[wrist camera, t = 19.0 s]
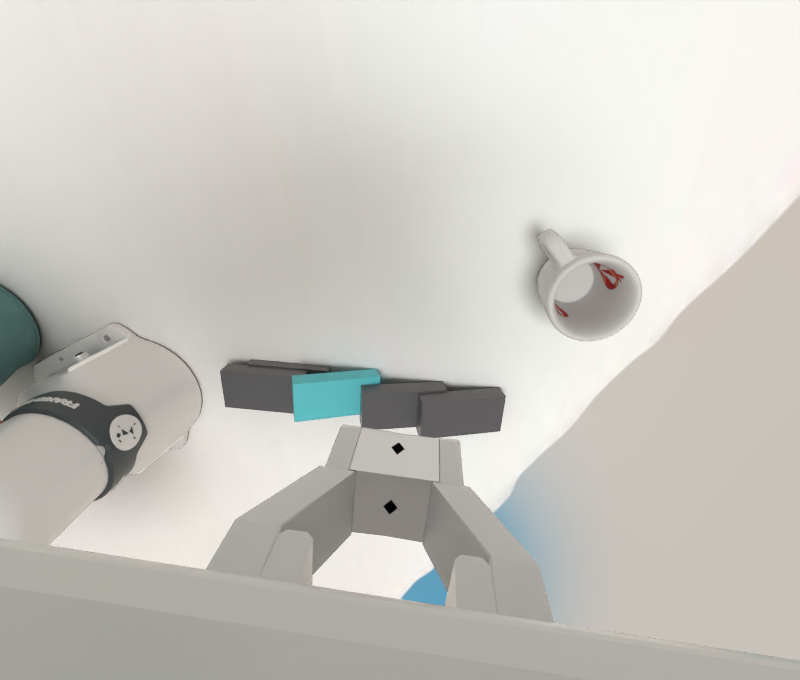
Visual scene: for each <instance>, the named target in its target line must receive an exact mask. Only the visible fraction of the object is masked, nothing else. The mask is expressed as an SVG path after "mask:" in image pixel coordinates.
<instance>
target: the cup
mask: <svg viewBox="0 0 800 680" xmlns="http://www.w3.org/2000/svg"><path fill="white" fill-rule="evenodd" d="M538 241H539V243H540V245H541V246H542V248H543V250H544V251H545V253H546V254H547V256H548V257H549V260H548V261H547V262H546V263H545V264H544V266H543V267H542V269H541V271H540V274H539V277H538V293H539V296H540V299H541V301H542V303H543V305H544V308H545V310H546V312H547V315H548V317H549V319H550V321H551V323H552V324H553V326H554V327H555V328H556V329H557V330H558V331H559V332H560V333H562V334H563V335H565V336H567V337H569V338H571V339H574V340H579V341H596V340H601V339H604V338H607V337H609V336H612V335H614V334H615V333H617V332H619V331H620V330H621V329H623V328H624V327H625V326H626V325H627V324H628V323H629V322H630V321H631V320H632V318H633V317H634V315H635V314H636V312H637V310H638V308H639V305H640V302H641V297H642V286H641V281H640V278H639V276H638V274H637V272H636V271H635V269H634V268H633V267H632V266H631V265H630V264H629V263H627V262H626V261H624V260H623V259H621V258H618V257H616V256H612V255H608V254H603V253H598V252H593V251H589V250H583V249H569V248H568V246H567V245H566V243H565V242H564V240H563V239H562V238H561V237H560V236H559V235H558V234H557V233H556V232H555V231H553V230H550V229H549V230H546V231H544V232H543V233H541V234H540V235H539V237H538Z"/></svg>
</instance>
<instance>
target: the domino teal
mask: <svg viewBox="0 0 800 680" xmlns="http://www.w3.org/2000/svg"><path fill="white" fill-rule="evenodd" d="M374 384H380V375H379V373H378V371H377V369H367V370H355V371H343V372H331V373H318V374H306V375H294V376H292V390H293V411H294V421H295V422H298V421H307V420H315V419H324V418H332V417H341V416H350V415H358V414H360V393H361V385H374Z"/></svg>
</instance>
